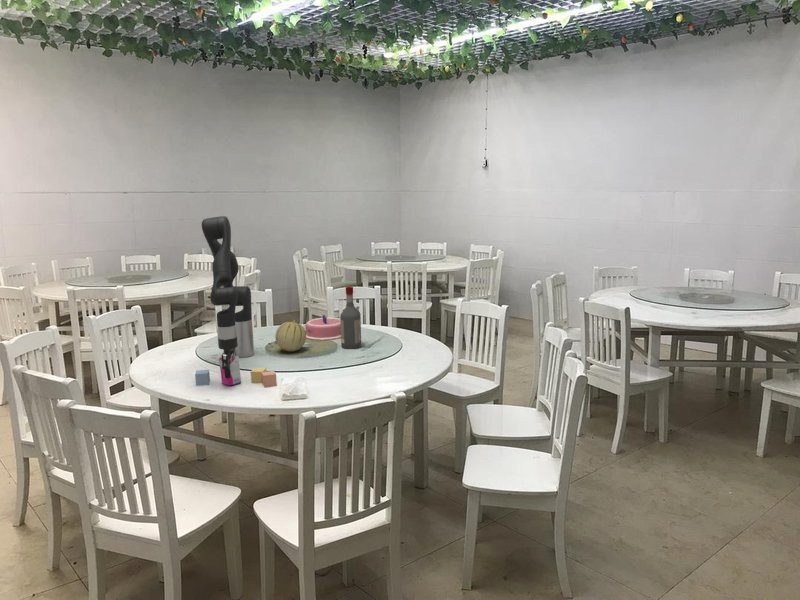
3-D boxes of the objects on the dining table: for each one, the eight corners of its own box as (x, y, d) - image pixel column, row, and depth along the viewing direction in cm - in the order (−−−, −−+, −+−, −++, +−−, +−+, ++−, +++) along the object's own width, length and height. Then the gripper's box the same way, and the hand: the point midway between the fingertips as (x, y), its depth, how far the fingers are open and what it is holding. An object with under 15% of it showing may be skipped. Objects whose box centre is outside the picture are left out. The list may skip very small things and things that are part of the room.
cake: (299, 331, 332) (297, 312, 330) (343, 327, 339) (342, 309, 337) (306, 343, 309) (305, 322, 307) (353, 338, 316) (353, 318, 314)
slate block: (197, 382, 251) (196, 370, 250) (209, 380, 252) (208, 369, 251) (196, 385, 246) (195, 374, 245) (208, 384, 247) (207, 373, 246)
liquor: (362, 344, 303) (360, 285, 297) (359, 349, 294) (357, 288, 288) (344, 344, 304) (341, 285, 298) (340, 349, 295) (338, 288, 289)
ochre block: (255, 379, 253) (254, 367, 252) (266, 379, 252) (266, 367, 251) (251, 383, 248) (250, 371, 247) (263, 383, 247) (262, 371, 246)
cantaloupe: (271, 354, 288) (269, 324, 285) (284, 346, 302) (282, 317, 299) (299, 355, 285) (298, 325, 282) (311, 347, 299) (310, 318, 296)
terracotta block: (262, 383, 247) (261, 372, 246) (274, 382, 249) (273, 370, 248) (264, 387, 242) (263, 375, 241) (276, 385, 244) (276, 373, 243)
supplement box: (232, 380, 252) (230, 354, 249) (241, 383, 248) (239, 356, 246) (221, 384, 247) (218, 357, 245) (229, 387, 243) (227, 359, 241)
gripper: (222, 332, 250) (225, 369, 254) (213, 341, 236) (216, 380, 240) (240, 331, 251) (243, 369, 254) (232, 340, 237) (235, 380, 240)
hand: (230, 374), depth 247 cm, fingers closed on supplement box, 8 cm apart
